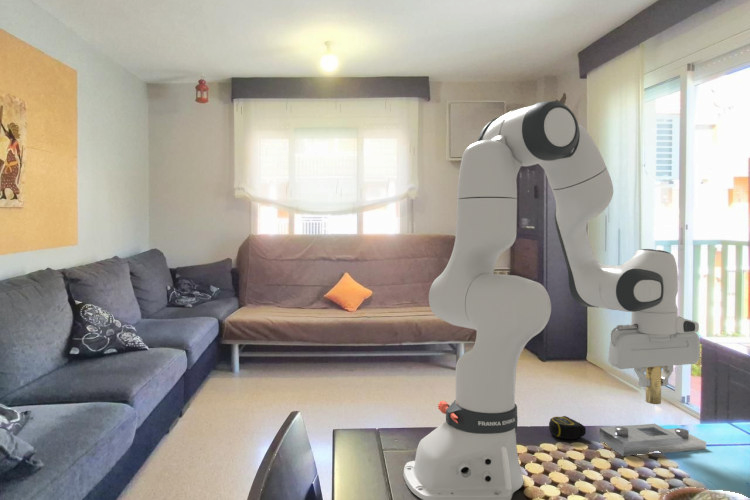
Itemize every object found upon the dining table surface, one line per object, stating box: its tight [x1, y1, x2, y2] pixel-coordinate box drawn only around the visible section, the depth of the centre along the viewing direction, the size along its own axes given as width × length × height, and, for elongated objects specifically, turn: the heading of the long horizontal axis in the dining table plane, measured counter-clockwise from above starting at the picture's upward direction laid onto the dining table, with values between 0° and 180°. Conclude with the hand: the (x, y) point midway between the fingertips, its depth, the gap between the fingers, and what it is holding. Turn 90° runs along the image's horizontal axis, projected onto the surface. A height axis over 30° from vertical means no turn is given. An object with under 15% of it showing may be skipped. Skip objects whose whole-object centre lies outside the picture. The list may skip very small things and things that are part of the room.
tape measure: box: [548, 415, 587, 440], centre depth 116 cm, size 7×7×4 cm
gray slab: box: [599, 423, 707, 457], centre depth 110 cm, size 20×8×4 cm, turn 101°
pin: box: [645, 366, 663, 405], centre depth 110 cm, size 3×3×10 cm
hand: (653, 385), depth 110 cm, fingers closed on pin, 3 cm apart
